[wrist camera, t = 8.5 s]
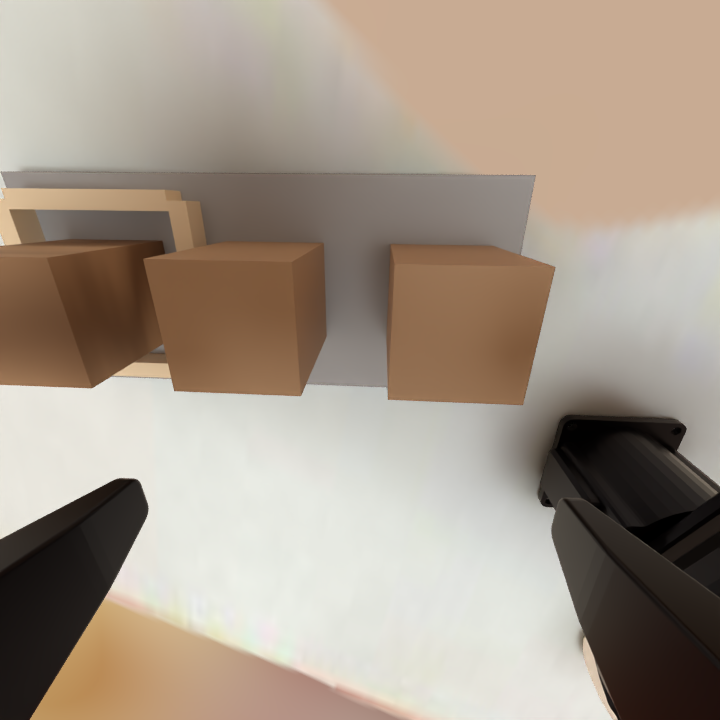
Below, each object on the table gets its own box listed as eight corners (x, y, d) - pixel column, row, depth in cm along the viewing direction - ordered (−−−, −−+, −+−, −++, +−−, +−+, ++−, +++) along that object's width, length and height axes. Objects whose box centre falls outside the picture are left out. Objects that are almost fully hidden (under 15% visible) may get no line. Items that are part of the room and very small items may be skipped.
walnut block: (69, 239, 16) (-92, 254, 11) (162, 240, 16) (46, 257, 10) (98, 329, 18) (-27, 383, 13) (181, 332, 18) (91, 388, 12)
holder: (526, 177, 15) (634, 154, 8) (488, 382, 19) (542, 471, 13) (22, 173, 16) (-216, 151, 10) (88, 367, 20) (-49, 441, 14)
